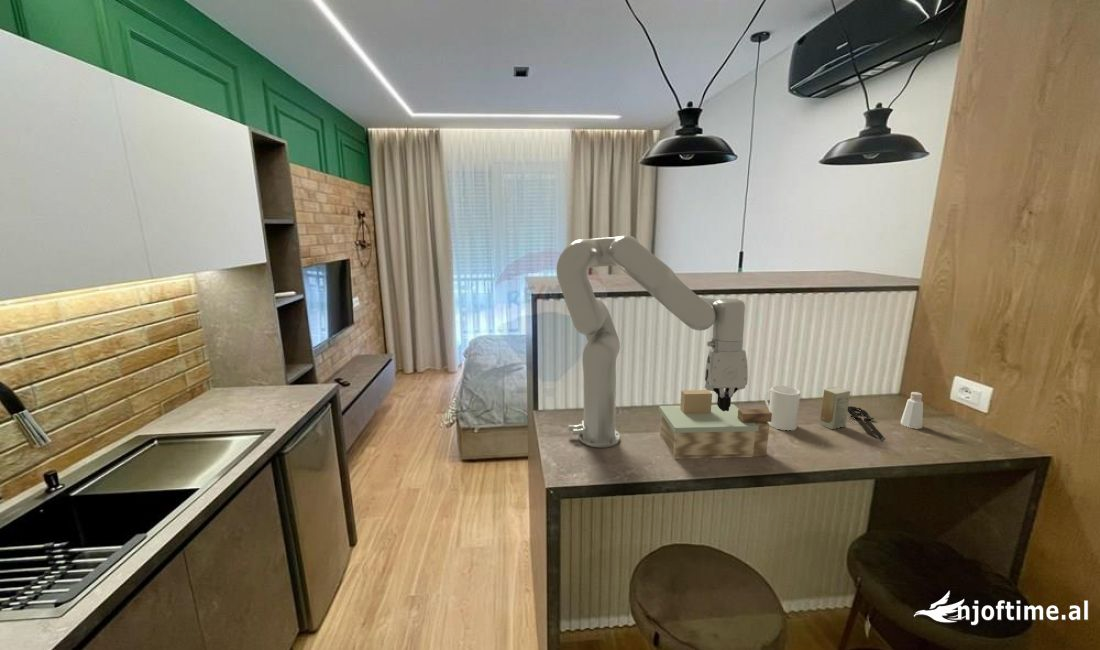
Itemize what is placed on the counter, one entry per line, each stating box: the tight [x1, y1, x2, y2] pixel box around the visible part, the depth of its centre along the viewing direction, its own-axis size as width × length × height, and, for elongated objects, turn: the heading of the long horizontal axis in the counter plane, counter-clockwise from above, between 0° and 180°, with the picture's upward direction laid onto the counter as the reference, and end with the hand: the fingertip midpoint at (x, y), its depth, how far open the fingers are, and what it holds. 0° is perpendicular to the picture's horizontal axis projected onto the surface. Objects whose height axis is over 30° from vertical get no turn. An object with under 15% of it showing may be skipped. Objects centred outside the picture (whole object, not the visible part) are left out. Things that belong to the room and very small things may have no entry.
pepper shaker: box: [900, 391, 924, 430], centre depth 133 cm, size 5×5×11 cm
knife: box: [847, 405, 886, 442], centre depth 136 cm, size 25×6×1 cm, turn 154°
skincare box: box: [819, 386, 851, 430], centre depth 133 cm, size 6×4×12 cm
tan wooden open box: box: [659, 413, 770, 460], centre depth 121 cm, size 26×14×10 cm, turn 92°
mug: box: [764, 385, 801, 432], centre depth 136 cm, size 12×8×12 cm
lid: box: [658, 389, 759, 433], centre depth 120 cm, size 23×15×8 cm, turn 92°
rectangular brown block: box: [738, 408, 772, 422], centre depth 116 cm, size 8×3×2 cm, turn 92°
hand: (723, 409), depth 116 cm, fingers closed
